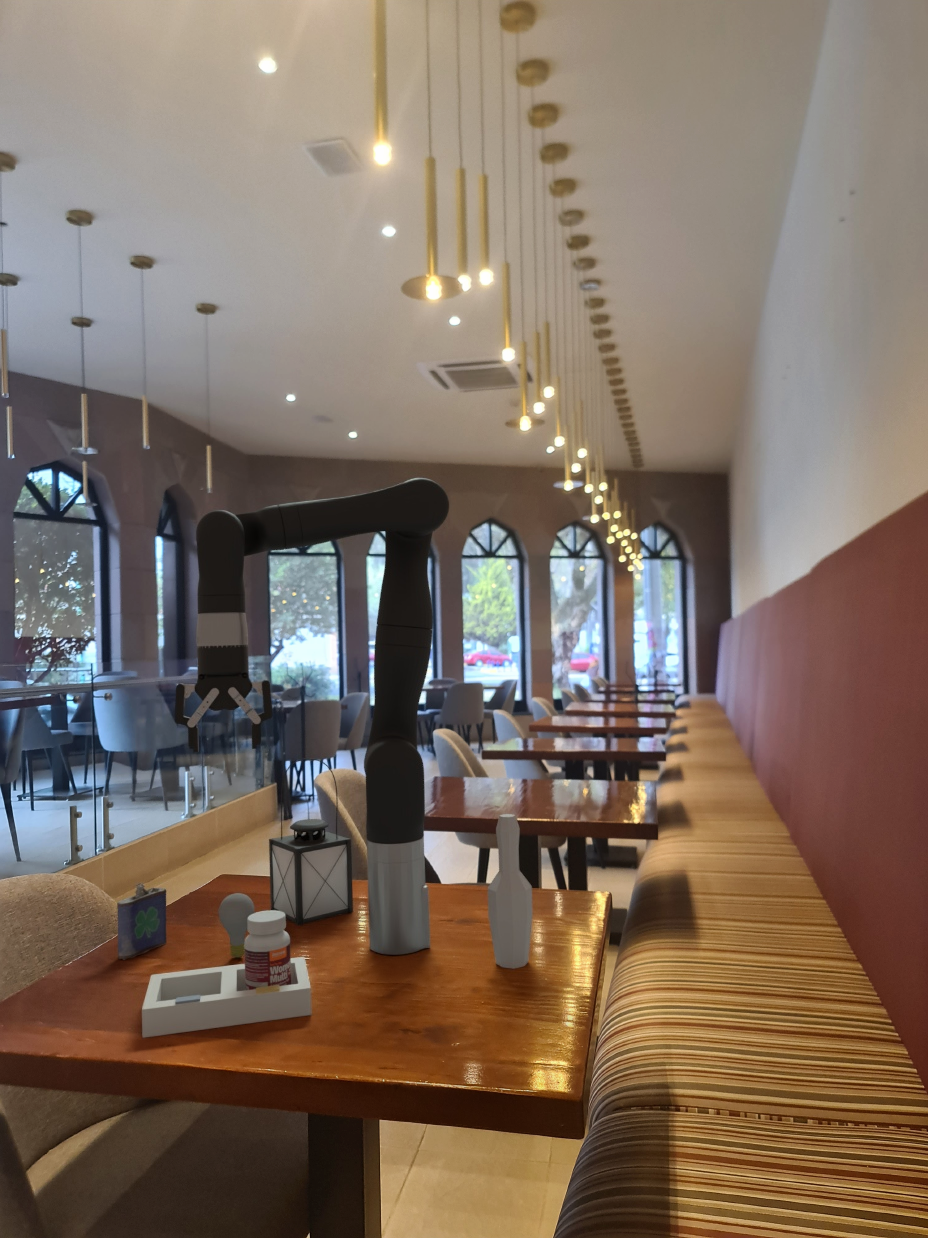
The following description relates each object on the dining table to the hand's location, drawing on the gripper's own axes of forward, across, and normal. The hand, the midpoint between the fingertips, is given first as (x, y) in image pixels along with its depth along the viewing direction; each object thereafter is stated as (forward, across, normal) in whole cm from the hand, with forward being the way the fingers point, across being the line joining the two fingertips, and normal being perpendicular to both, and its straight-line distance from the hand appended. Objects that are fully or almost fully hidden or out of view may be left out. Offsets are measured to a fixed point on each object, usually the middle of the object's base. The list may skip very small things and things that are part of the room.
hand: (225, 750), depth 132 cm
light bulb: (+33, -1, -5) cm, 34 cm away
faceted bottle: (+33, -41, +11) cm, 54 cm away
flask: (+33, +14, -14) cm, 39 cm away
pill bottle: (+33, -5, +14) cm, 36 cm away
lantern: (+33, -14, -25) cm, 44 cm away
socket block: (+33, 0, +14) cm, 36 cm away
